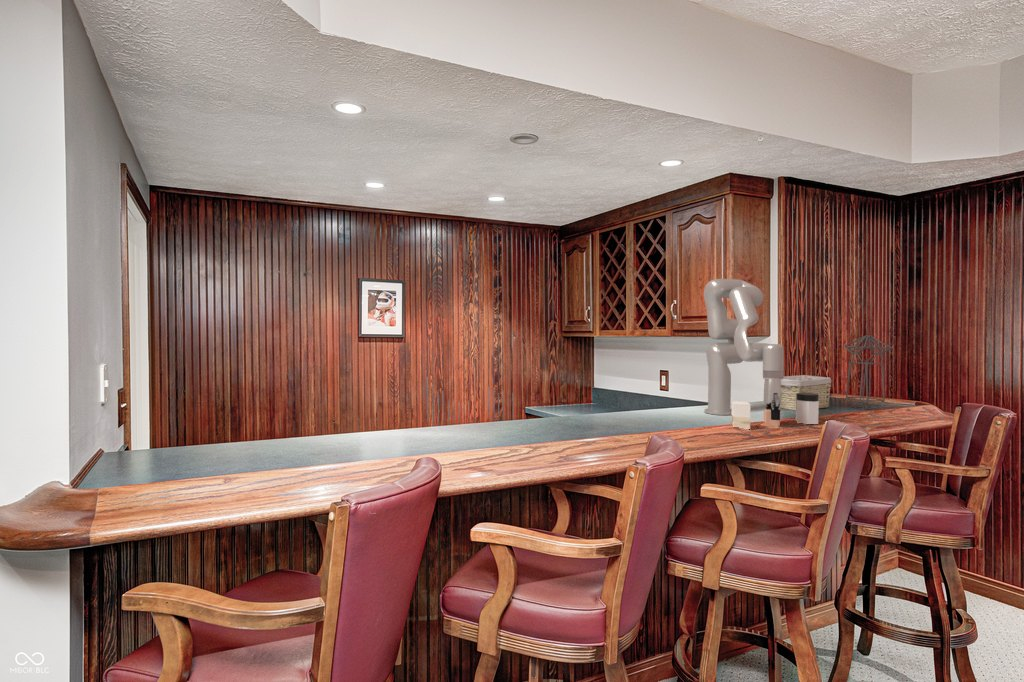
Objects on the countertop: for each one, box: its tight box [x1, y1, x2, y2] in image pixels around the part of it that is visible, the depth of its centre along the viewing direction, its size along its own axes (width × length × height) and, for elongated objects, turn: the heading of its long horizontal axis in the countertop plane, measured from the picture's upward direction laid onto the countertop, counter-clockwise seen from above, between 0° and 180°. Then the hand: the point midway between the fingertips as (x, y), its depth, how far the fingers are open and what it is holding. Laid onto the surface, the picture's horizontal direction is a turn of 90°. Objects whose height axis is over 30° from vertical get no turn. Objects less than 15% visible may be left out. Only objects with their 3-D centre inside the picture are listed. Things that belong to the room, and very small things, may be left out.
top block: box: [763, 408, 781, 427], centre depth 230 cm, size 5×5×6 cm
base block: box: [730, 415, 751, 430], centre depth 223 cm, size 6×6×5 cm
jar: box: [795, 393, 820, 425], centre depth 235 cm, size 9×8×12 cm
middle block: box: [731, 401, 751, 418], centre depth 223 cm, size 6×6×5 cm
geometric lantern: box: [843, 334, 893, 410], centre depth 274 cm, size 16×16×35 cm
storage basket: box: [780, 374, 832, 411], centre depth 276 cm, size 24×16×15 cm
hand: (772, 418), depth 229 cm, fingers open, 9 cm apart
